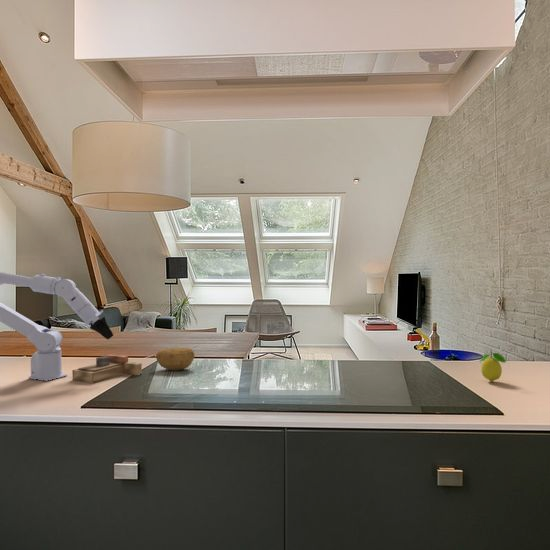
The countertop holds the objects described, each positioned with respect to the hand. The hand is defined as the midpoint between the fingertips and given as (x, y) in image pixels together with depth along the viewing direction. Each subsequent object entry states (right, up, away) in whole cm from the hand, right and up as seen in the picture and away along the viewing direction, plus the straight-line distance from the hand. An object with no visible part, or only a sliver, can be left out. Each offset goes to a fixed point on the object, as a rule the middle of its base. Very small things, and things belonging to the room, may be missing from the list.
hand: (110, 337), depth 143 cm
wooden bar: (+1, -9, +2) cm, 9 cm away
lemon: (+124, -11, -17) cm, 126 cm away
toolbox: (+1, -13, -4) cm, 13 cm away
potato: (+21, -13, +5) cm, 25 cm away
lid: (-1, -10, -3) cm, 10 cm away
